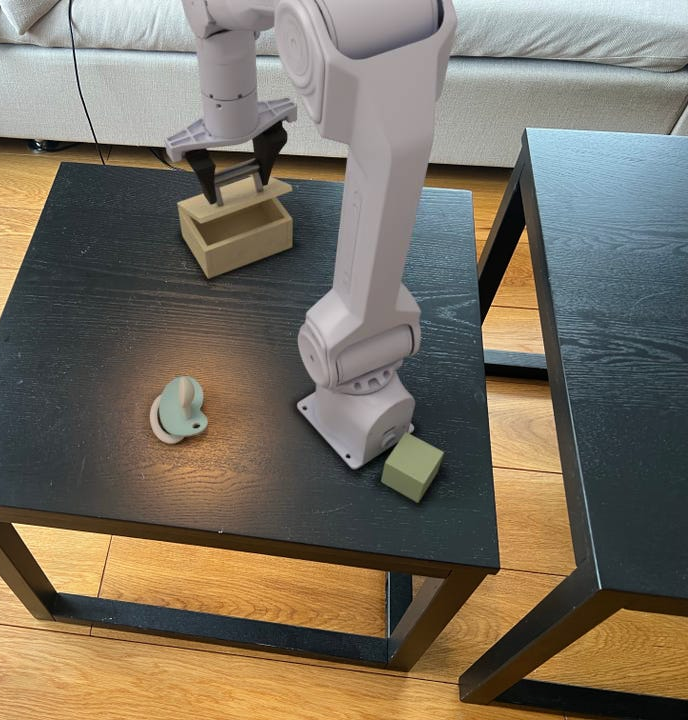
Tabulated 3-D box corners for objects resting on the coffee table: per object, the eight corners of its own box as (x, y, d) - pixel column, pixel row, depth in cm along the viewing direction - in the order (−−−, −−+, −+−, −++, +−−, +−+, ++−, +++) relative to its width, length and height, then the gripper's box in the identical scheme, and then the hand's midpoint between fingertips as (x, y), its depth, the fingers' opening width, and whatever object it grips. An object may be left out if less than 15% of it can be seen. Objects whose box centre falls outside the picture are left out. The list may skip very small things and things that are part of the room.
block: (437, 472, 73) (444, 452, 70) (418, 503, 72) (424, 484, 68) (400, 452, 75) (405, 431, 72) (380, 482, 73) (384, 462, 70)
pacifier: (154, 453, 78) (211, 442, 77) (143, 421, 73) (204, 410, 72) (147, 395, 82) (202, 385, 82) (136, 361, 77) (194, 351, 77)
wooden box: (292, 247, 93) (292, 219, 89) (208, 279, 91) (204, 251, 87) (263, 206, 98) (262, 178, 94) (182, 235, 96) (177, 207, 92)
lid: (292, 190, 86) (284, 152, 84) (201, 224, 84) (190, 185, 82) (262, 178, 94) (254, 142, 92) (178, 208, 92) (168, 172, 90)
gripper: (275, 44, 79) (277, 150, 90) (147, 85, 77) (165, 189, 88) (307, 77, 75) (305, 184, 86) (172, 122, 73) (188, 226, 83)
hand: (236, 189), depth 86 cm, fingers closed on lid, 6 cm apart
